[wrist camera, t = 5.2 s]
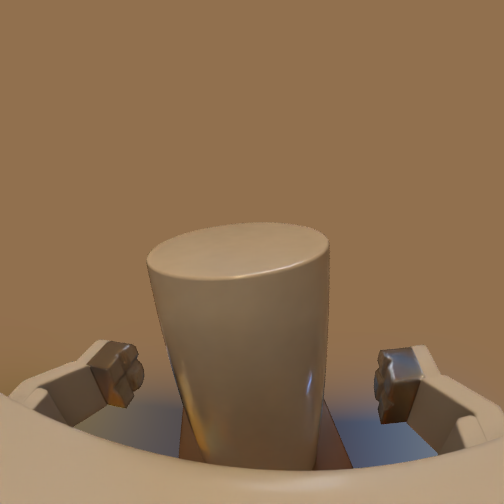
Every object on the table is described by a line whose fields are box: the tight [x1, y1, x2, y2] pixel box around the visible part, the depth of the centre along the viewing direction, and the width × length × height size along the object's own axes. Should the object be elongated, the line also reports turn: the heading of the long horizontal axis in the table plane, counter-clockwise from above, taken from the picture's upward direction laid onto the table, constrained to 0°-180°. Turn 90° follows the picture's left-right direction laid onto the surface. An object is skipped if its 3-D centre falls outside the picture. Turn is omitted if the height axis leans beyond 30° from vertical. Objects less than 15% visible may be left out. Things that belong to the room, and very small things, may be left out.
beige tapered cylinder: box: [147, 223, 329, 471], centre depth 9 cm, size 5×5×9 cm
